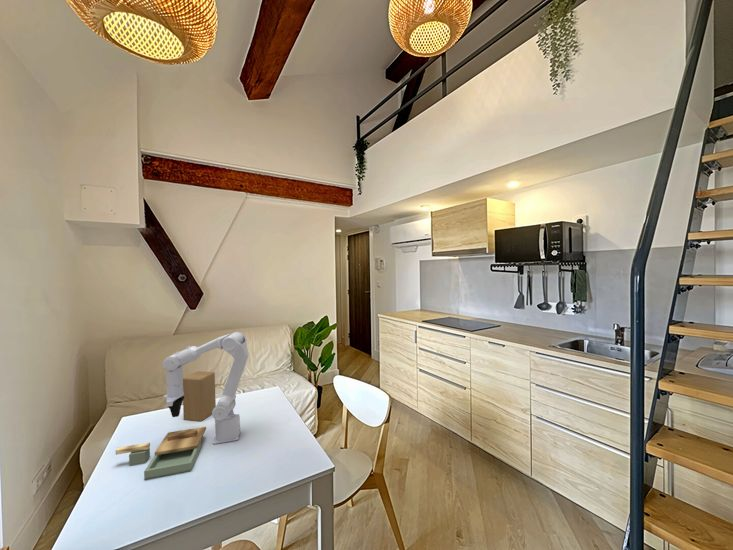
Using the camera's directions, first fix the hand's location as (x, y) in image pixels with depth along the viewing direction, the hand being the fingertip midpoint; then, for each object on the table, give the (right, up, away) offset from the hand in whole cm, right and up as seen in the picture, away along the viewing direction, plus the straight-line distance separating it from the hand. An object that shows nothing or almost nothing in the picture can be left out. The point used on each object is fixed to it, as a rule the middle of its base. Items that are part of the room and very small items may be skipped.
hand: (175, 416), depth 123 cm
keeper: (-5, -11, -12) cm, 17 cm away
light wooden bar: (-7, -6, -13) cm, 16 cm away
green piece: (+9, -11, -14) cm, 19 cm away
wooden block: (-2, -10, +21) cm, 24 cm away
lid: (+6, -7, -5) cm, 11 cm away
